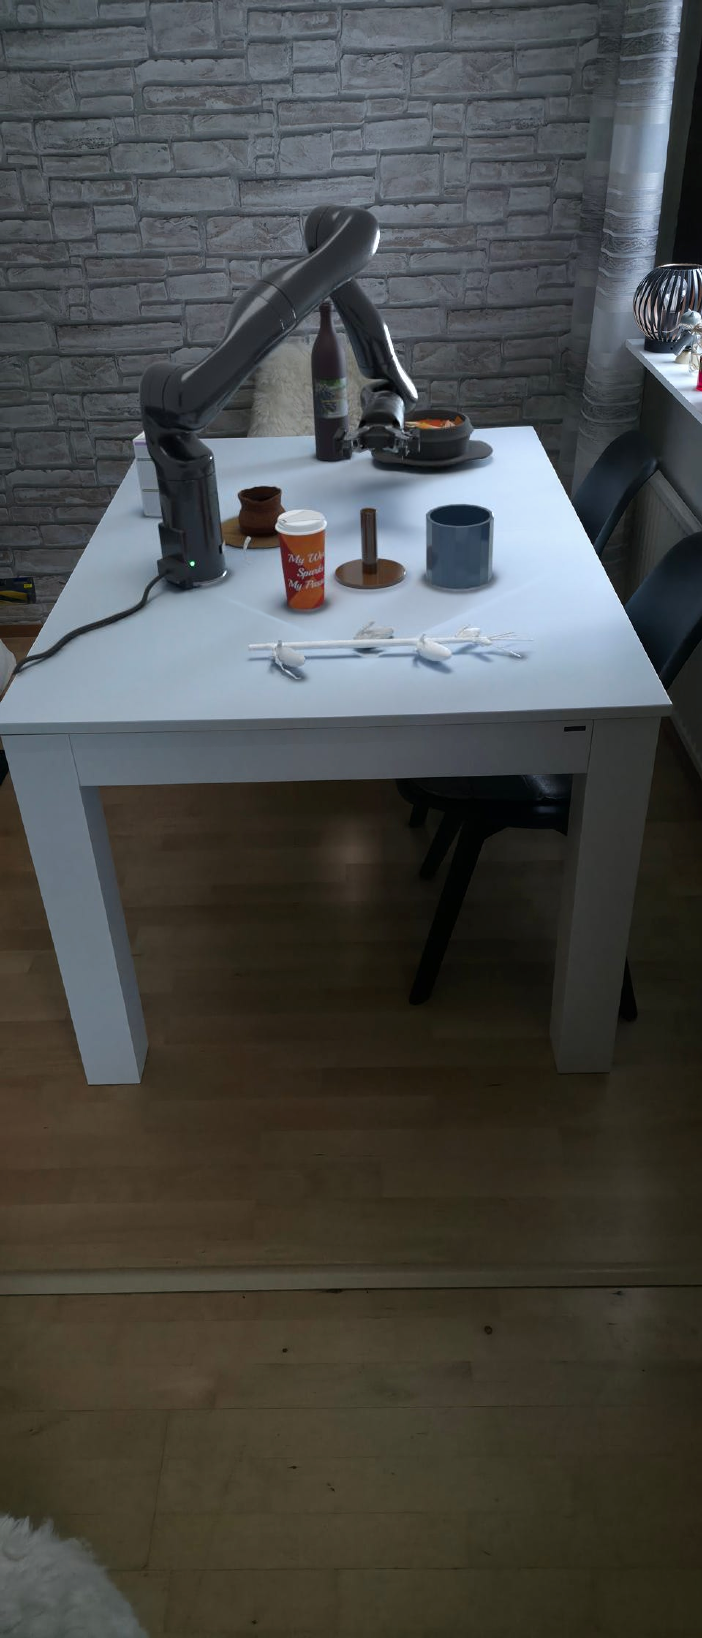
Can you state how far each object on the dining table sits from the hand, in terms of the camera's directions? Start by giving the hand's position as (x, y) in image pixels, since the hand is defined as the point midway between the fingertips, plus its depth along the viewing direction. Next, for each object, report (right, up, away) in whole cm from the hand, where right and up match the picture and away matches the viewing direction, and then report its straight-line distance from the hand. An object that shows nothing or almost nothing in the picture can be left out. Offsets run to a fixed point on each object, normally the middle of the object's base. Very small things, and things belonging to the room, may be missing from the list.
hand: (373, 453), depth 181 cm
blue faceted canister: (+13, -21, -1) cm, 25 cm away
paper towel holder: (-1, -20, 0) cm, 20 cm away
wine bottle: (-8, +17, +55) cm, 58 cm away
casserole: (+13, +15, +50) cm, 54 cm away
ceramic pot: (-19, -7, +20) cm, 29 cm away
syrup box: (-39, -1, +30) cm, 49 cm away
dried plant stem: (+2, -36, -23) cm, 43 cm away
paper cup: (-11, -26, -7) cm, 29 cm away
